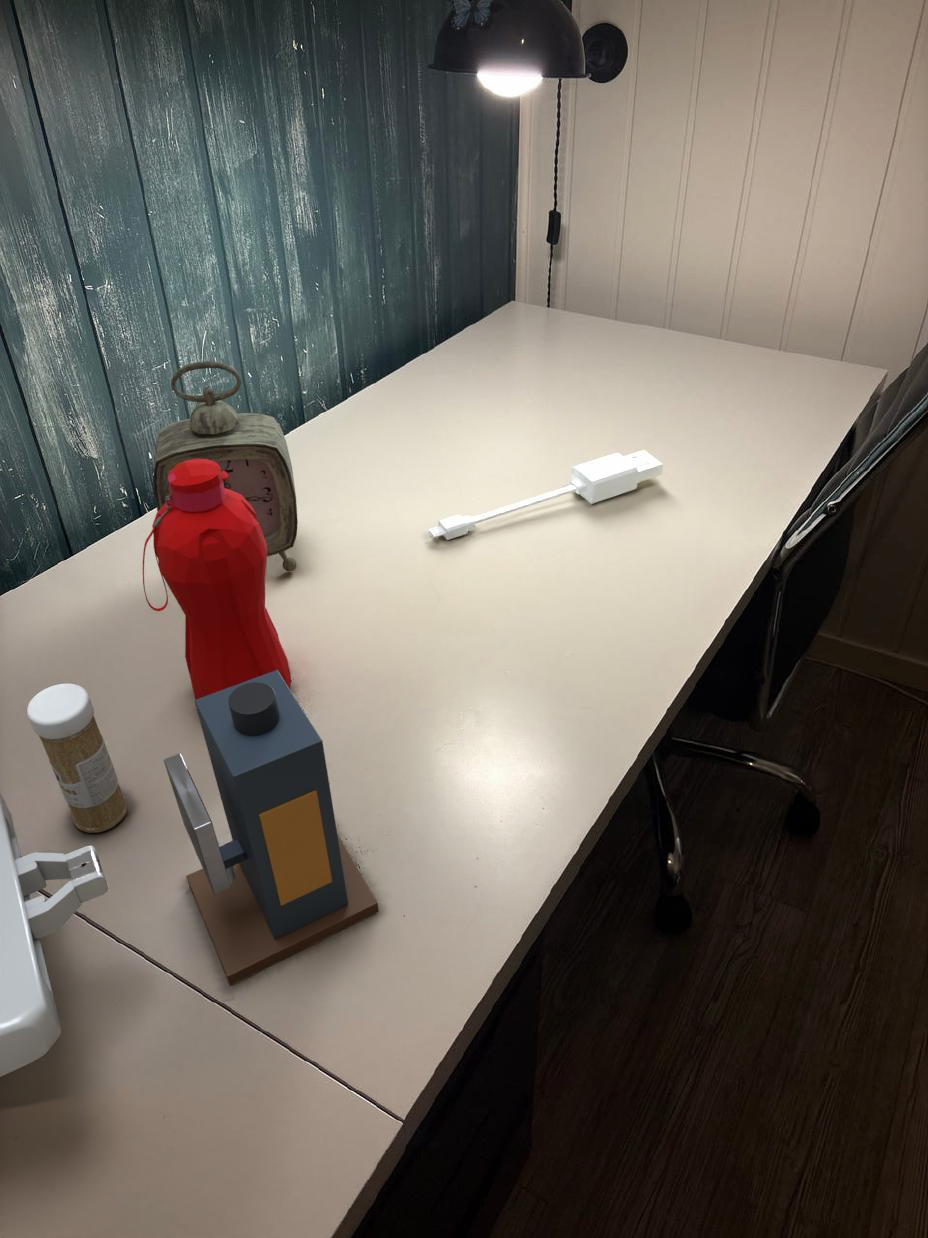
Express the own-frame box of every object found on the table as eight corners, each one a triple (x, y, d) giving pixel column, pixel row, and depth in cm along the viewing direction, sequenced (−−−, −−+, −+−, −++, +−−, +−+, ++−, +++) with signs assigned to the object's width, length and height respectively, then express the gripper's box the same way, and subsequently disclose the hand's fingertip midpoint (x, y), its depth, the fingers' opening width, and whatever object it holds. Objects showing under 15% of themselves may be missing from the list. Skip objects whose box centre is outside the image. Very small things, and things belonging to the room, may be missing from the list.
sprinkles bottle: (63, 817, 79) (13, 704, 70) (109, 785, 81) (66, 673, 73) (94, 844, 76) (46, 731, 68) (140, 810, 79) (99, 697, 71)
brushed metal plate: (214, 895, 62) (193, 830, 58) (184, 824, 67) (163, 759, 63) (231, 887, 63) (212, 822, 58) (199, 818, 68) (180, 752, 63)
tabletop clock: (179, 595, 103) (124, 386, 88) (181, 550, 110) (131, 350, 95) (308, 577, 105) (277, 371, 90) (302, 535, 112) (272, 337, 97)
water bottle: (171, 679, 92) (107, 458, 77) (279, 651, 95) (238, 433, 80) (185, 741, 86) (118, 512, 70) (300, 709, 89) (260, 483, 73)
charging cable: (423, 535, 114) (421, 512, 111) (640, 465, 124) (642, 442, 122) (441, 555, 110) (439, 532, 108) (663, 481, 120) (665, 459, 118)
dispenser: (230, 985, 66) (166, 792, 53) (188, 884, 73) (123, 690, 60) (379, 911, 71) (354, 716, 58) (327, 823, 78) (295, 630, 64)
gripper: (-123, 872, 64) (81, 793, 69) (-101, 1144, 50) (153, 1020, 55) (-163, 813, 60) (56, 734, 65) (-152, 1090, 46) (126, 962, 51)
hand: (101, 867), depth 60 cm, fingers closed
